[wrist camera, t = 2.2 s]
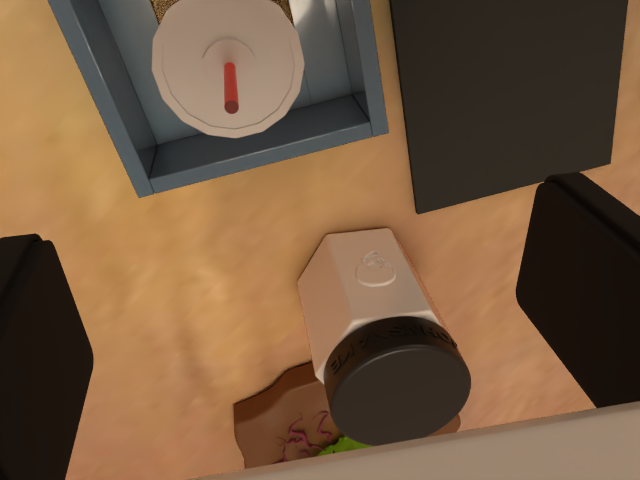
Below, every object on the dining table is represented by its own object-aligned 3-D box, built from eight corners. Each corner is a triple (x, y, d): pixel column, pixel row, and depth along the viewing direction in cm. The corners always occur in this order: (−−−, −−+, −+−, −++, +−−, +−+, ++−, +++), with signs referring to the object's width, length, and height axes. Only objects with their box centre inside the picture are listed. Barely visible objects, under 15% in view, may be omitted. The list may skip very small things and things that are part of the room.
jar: (419, 220, 38) (489, 335, 28) (411, 309, 42) (470, 435, 32) (293, 233, 37) (320, 358, 27) (299, 323, 41) (324, 458, 31)
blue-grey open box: (326, -150, 26) (347, -159, 22) (368, 103, 33) (389, 133, 29) (46, -80, 26) (12, -75, 21) (149, 160, 33) (138, 198, 28)
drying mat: (644, -195, 27) (649, -196, 26) (607, 161, 38) (610, 163, 37) (373, -126, 27) (375, -127, 26) (415, 212, 38) (417, 214, 37)
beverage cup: (160, -39, 27) (115, 9, 15) (281, -41, 28) (324, 3, 16) (177, 82, 30) (151, 197, 19) (285, 77, 31) (323, 185, 20)
